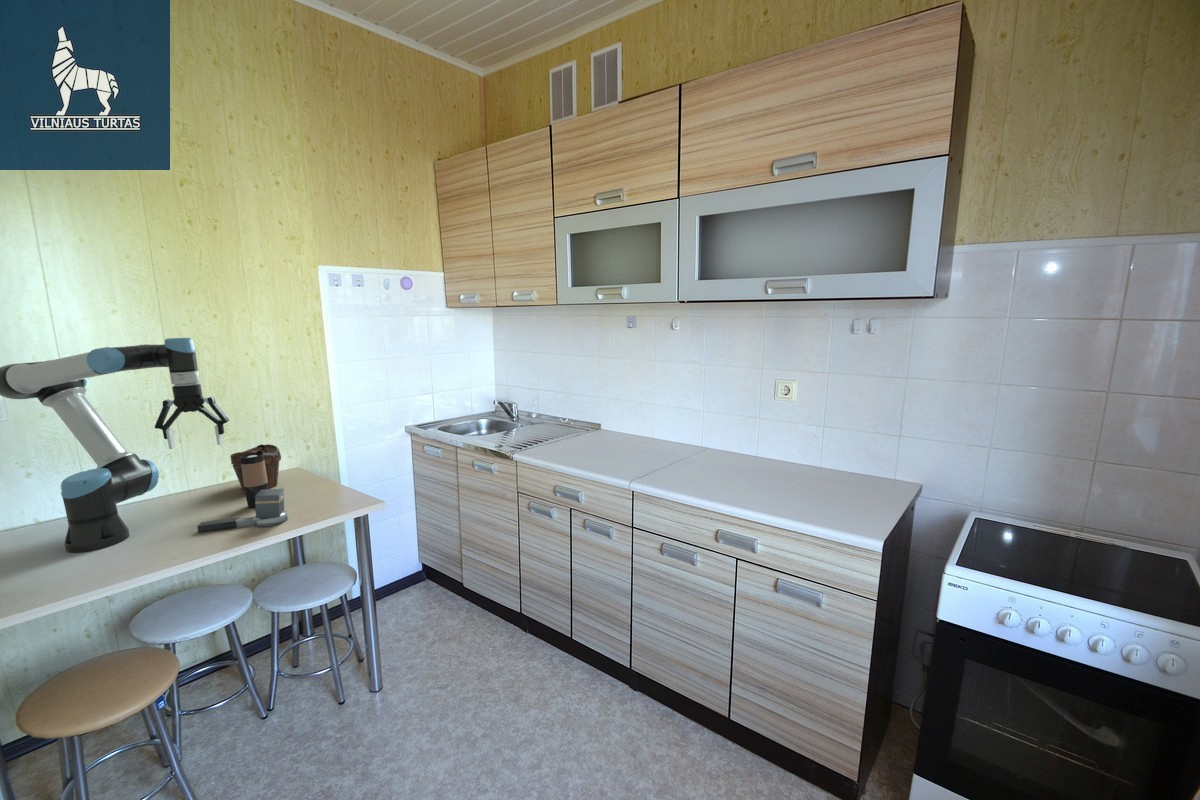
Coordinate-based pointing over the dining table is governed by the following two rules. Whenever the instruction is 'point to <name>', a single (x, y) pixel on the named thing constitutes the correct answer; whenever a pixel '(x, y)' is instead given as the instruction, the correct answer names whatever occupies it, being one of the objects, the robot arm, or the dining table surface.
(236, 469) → the brown tapered pot
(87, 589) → the dining table surface
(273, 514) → the gold-striped grey cube
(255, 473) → the travel mug
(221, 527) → the ratchet
